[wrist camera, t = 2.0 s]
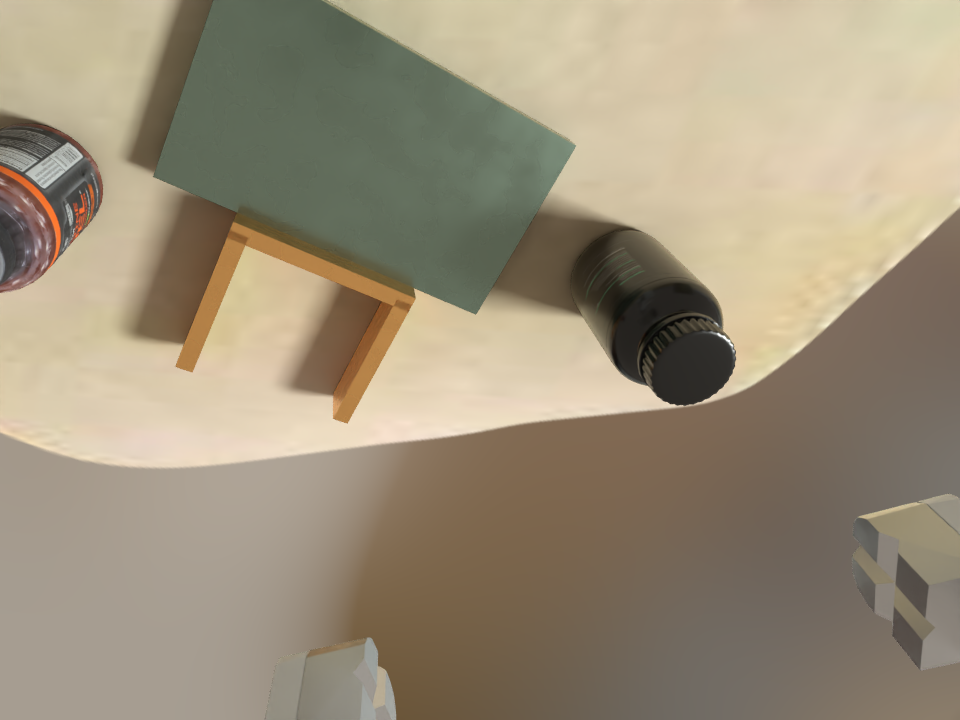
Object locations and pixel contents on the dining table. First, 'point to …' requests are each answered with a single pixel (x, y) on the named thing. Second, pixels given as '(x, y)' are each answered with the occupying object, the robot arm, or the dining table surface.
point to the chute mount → (352, 165)
